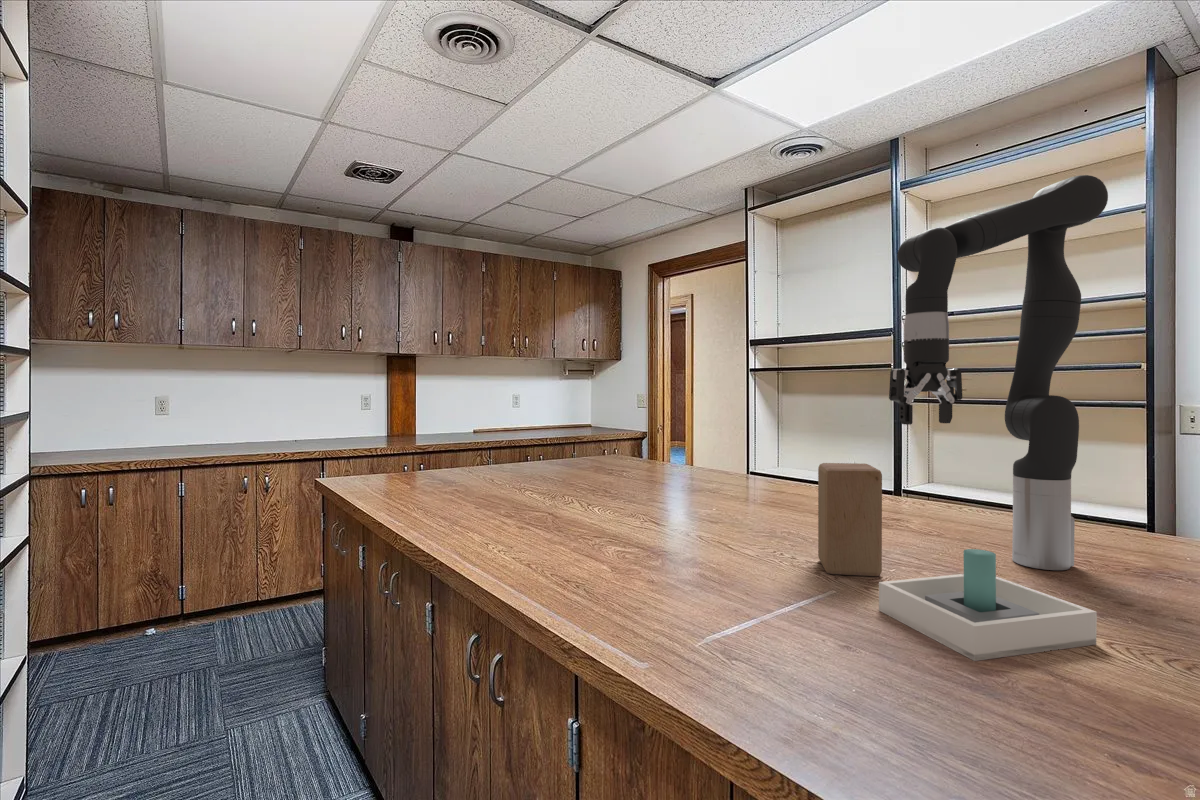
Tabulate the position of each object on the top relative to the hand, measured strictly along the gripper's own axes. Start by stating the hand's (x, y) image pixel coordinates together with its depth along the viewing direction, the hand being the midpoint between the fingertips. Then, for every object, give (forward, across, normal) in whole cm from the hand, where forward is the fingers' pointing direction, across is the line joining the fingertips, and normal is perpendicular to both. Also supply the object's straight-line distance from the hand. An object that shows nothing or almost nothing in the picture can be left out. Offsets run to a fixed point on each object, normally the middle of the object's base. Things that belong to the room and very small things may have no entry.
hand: (925, 423), depth 113 cm
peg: (+27, +12, +24) cm, 38 cm away
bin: (+28, +12, +24) cm, 39 cm away
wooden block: (+28, +13, -5) cm, 32 cm away
